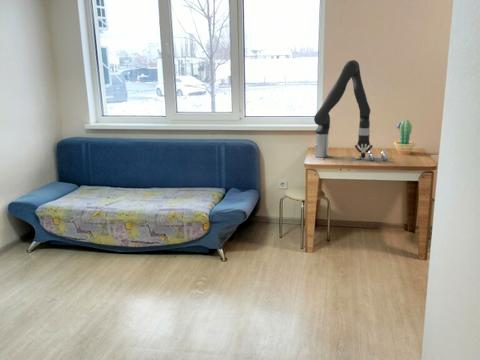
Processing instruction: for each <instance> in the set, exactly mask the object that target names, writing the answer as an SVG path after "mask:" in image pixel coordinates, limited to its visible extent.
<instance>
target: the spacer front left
mask: <svg viewBox="0 0 480 360" xmlns="http://www.w3.org/2000/svg"><path fill="white" fill-rule="evenodd" d="M374 158H375V153H374V152H373V153H371V154H370V161H369V162H375V161H374Z"/></svg>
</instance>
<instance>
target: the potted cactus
mask: <svg viewBox="0 0 480 360" xmlns="http://www.w3.org/2000/svg"><path fill="white" fill-rule="evenodd" d="M396 128H397V130H399V131H398V132H399V134H400V136H399V137H400V139H399V140H398V141H394V142H393V144H394V146H395V149H396V150H397V154H401V155H402V154H403V155H407V154H408V155H410V154H411V151H412V150H413V148H414V147H415V146H416V142H414V141H410V135H411V133H412V131H413V130H412V129H413V125H412V123H411V122H410V120H406V119H404V120H402V121H399V122H398V123H397V124H396Z"/></svg>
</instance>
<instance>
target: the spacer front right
mask: <svg viewBox="0 0 480 360" xmlns="http://www.w3.org/2000/svg"><path fill="white" fill-rule="evenodd" d="M388 157H389V153H387V152H386V153H384V154H383V161H382V162H386V161H387V162H388V159H389V158H388Z"/></svg>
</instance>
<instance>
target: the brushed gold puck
mask: <svg viewBox="0 0 480 360" xmlns="http://www.w3.org/2000/svg"><path fill="white" fill-rule="evenodd" d="M361 158H362V157H361V155H355V160H361Z"/></svg>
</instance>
